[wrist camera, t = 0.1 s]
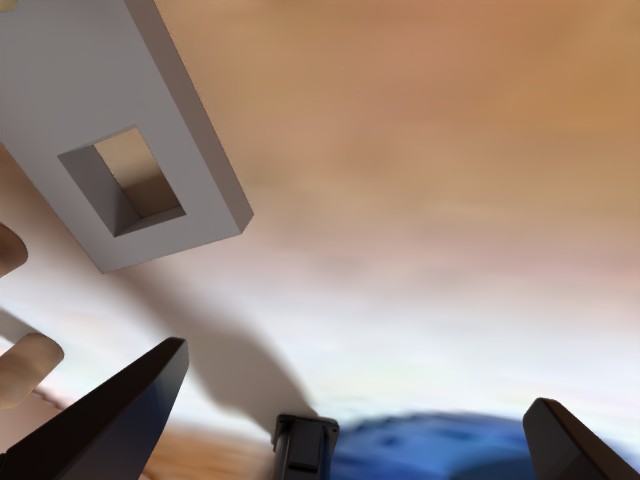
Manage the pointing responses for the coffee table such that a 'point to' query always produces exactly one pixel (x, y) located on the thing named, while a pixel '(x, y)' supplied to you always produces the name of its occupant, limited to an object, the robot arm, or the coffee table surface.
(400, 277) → the coffee table surface
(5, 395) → the short pin
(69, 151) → the pin board
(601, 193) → the coffee table surface
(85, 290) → the coffee table surface
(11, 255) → the tall pin
